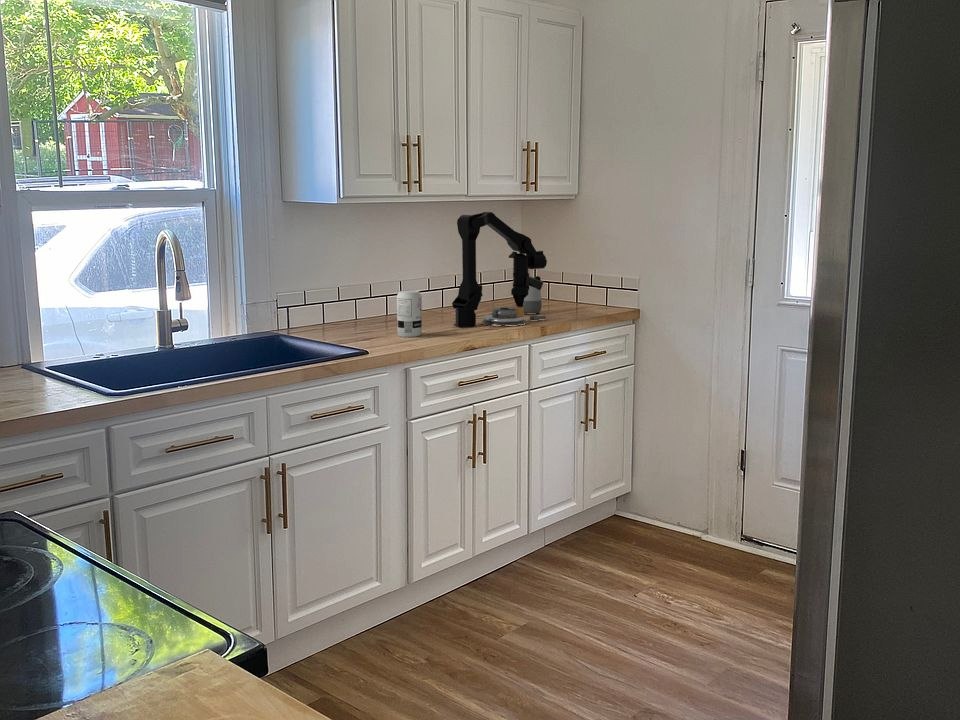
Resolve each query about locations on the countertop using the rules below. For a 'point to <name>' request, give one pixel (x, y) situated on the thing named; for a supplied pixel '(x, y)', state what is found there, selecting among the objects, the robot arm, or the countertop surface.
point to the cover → (504, 312)
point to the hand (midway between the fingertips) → (520, 311)
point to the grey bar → (537, 317)
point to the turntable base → (502, 323)
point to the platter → (510, 320)
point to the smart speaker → (532, 301)
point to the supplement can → (409, 313)
